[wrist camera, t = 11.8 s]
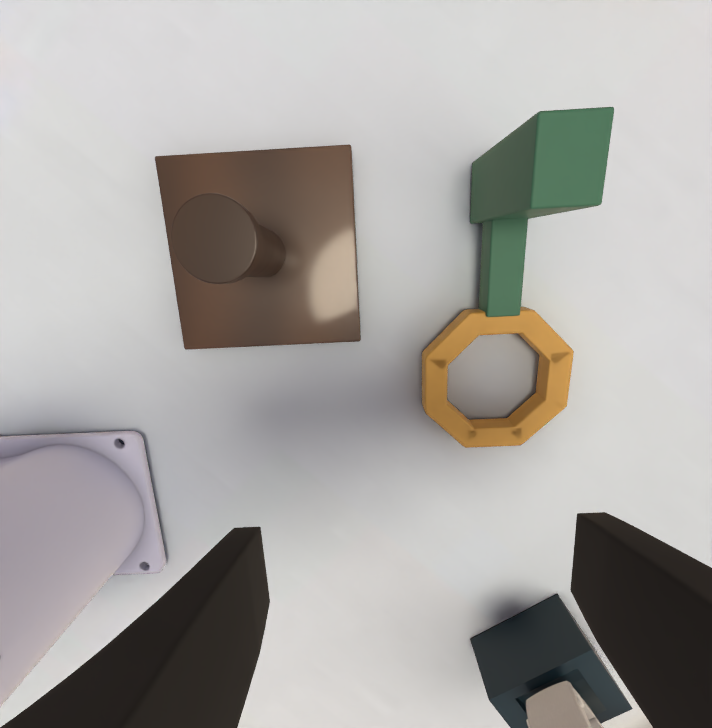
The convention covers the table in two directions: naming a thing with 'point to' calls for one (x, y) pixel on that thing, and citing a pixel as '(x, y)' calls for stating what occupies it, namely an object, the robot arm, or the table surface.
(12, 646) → the robot arm
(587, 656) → the bust statue
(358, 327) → the peg stand
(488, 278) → the octagonal ring with handle
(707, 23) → the table surface
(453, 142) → the table surface
